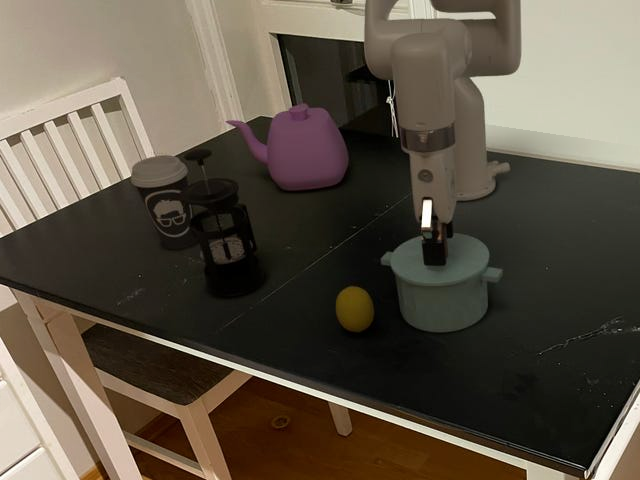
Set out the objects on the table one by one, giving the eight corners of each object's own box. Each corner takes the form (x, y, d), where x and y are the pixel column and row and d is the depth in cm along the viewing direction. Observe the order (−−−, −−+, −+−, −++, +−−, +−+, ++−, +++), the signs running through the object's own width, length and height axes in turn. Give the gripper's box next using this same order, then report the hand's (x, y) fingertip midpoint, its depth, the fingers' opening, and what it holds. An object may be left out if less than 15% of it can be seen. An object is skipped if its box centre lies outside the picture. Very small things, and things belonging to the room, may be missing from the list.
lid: (415, 233, 118) (411, 198, 114) (503, 246, 114) (501, 209, 110) (374, 281, 107) (368, 243, 104) (468, 296, 103) (465, 258, 99)
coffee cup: (218, 233, 139) (196, 157, 129) (183, 257, 132) (156, 179, 123) (180, 225, 142) (155, 150, 133) (143, 248, 135) (114, 171, 126)
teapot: (349, 151, 167) (338, 84, 158) (352, 190, 150) (340, 118, 141) (247, 162, 165) (230, 95, 155) (239, 203, 148) (219, 130, 139)
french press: (241, 304, 119) (201, 169, 105) (193, 295, 122) (148, 163, 107) (280, 267, 127) (248, 138, 113) (235, 260, 130) (198, 133, 116)
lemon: (370, 344, 109) (362, 298, 104) (335, 341, 110) (325, 296, 105) (382, 322, 113) (374, 278, 108) (347, 320, 114) (339, 275, 109)
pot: (407, 276, 123) (402, 230, 118) (515, 293, 117) (514, 246, 112) (370, 320, 113) (362, 273, 108) (486, 342, 108) (483, 293, 102)
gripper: (447, 160, 91) (457, 282, 102) (463, 111, 105) (470, 223, 116) (388, 161, 92) (404, 281, 103) (411, 112, 106) (423, 223, 116)
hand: (439, 250), depth 109 cm, fingers open, 7 cm apart
